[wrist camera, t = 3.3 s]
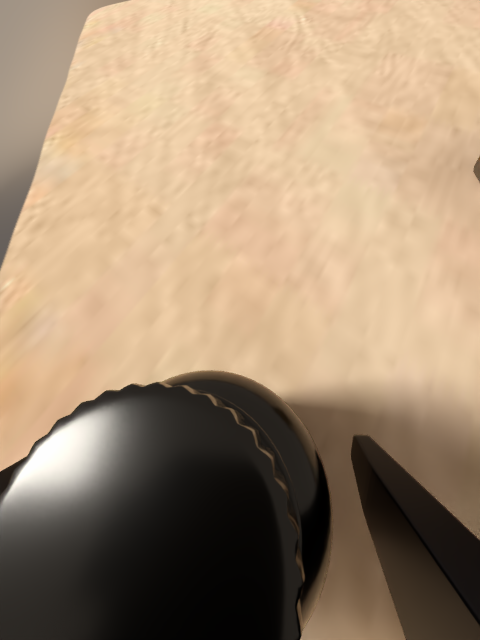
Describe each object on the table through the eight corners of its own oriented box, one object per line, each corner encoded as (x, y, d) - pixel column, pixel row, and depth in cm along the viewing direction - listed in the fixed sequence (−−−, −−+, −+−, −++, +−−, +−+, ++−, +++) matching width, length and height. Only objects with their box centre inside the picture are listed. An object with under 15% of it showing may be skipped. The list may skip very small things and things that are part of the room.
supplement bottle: (247, 376, 16) (194, 259, 5) (329, 474, 14) (562, 645, 3) (158, 452, 15) (-150, 504, 4) (229, 576, 12) (-106, 1664, 1)
